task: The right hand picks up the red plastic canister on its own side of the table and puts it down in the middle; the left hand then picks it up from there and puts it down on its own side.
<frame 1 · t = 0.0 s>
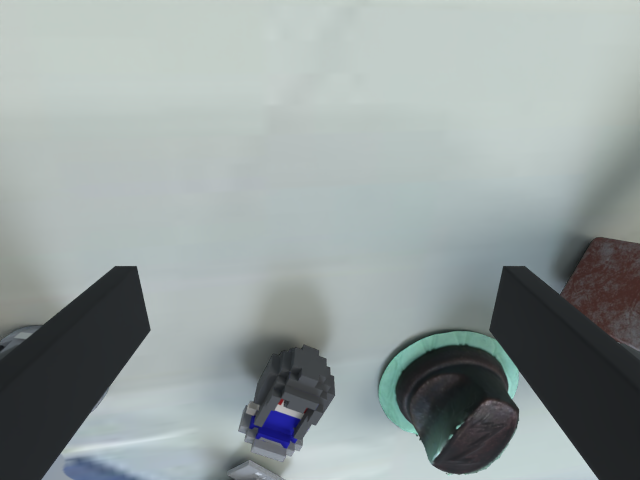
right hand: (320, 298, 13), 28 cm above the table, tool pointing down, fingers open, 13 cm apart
toy: (289, 375, 50), on the table
chocolate cake: (447, 386, 51), on the table
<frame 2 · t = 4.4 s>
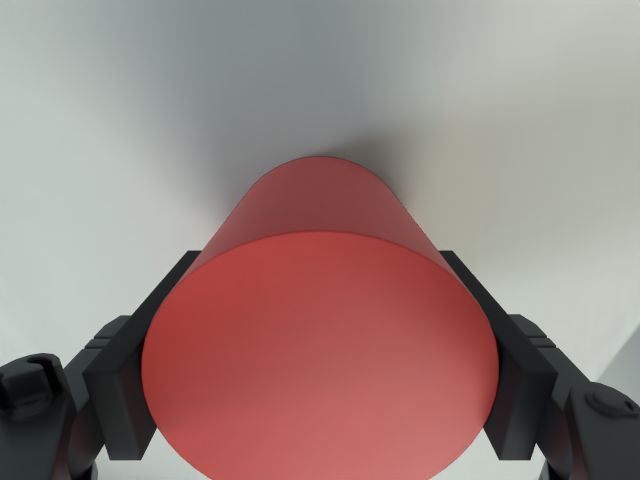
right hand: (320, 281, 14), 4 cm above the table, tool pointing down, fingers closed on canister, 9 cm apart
canister: (320, 244, 18), on the table, touching right hand
when the right hand's fingers open (5 cm above the table, at t = 12.2 s): canister drops 1 cm, on the table.
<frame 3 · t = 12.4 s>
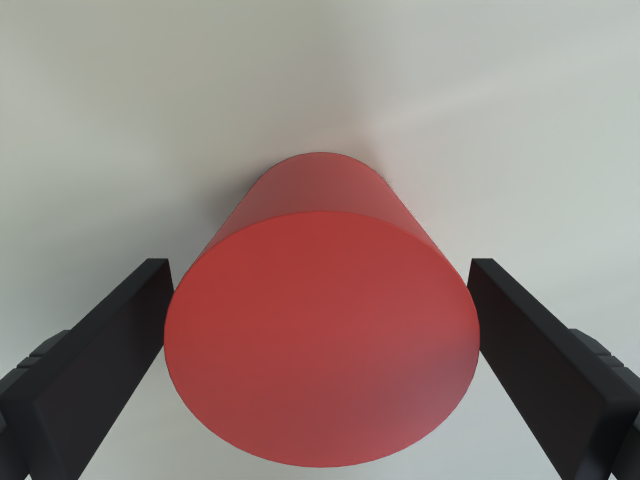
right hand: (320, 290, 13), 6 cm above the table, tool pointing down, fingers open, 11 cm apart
canister: (320, 235, 19), on the table
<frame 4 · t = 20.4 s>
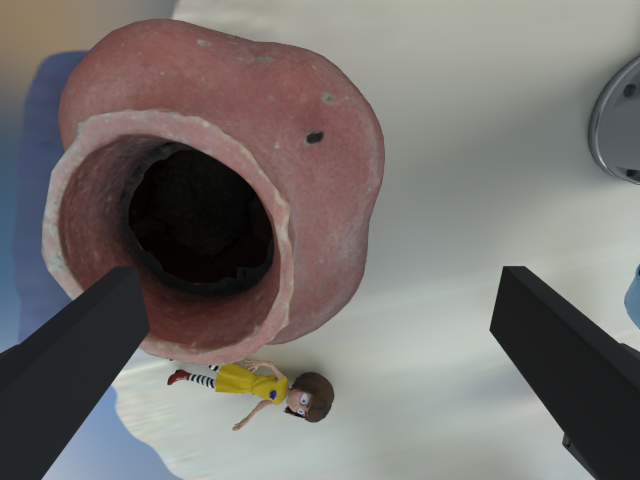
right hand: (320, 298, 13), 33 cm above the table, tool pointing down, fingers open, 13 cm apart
figurine: (255, 370, 56), on the table
clay pot: (249, 176, 44), on the table
when the left hand's fingers open (5 cm above the table, at t = 28.0 s): canister drops 1 cm, on the table.
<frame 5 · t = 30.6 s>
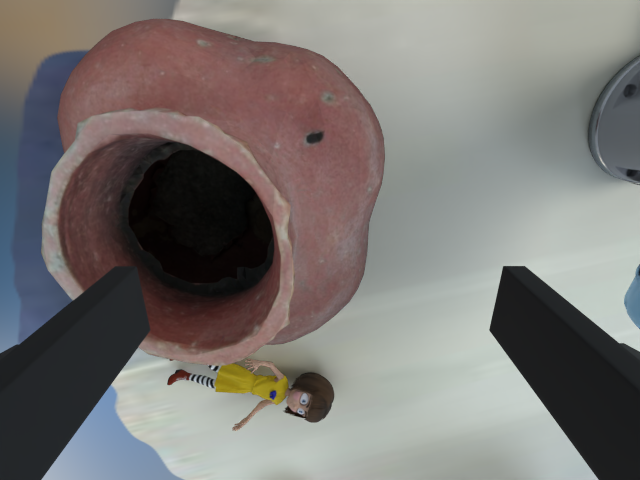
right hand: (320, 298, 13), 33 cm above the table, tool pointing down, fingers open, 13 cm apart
figurine: (255, 370, 56), on the table
clay pot: (249, 176, 44), on the table
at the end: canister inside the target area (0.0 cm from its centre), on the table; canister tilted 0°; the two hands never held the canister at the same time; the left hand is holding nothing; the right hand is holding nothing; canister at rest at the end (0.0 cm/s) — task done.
